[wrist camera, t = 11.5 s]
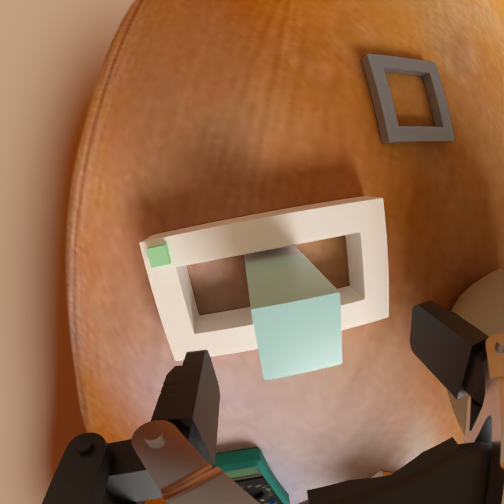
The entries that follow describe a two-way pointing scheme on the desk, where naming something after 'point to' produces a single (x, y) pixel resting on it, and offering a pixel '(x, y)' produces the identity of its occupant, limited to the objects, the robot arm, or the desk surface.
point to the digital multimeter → (252, 475)
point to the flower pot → (480, 320)
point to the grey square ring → (384, 104)
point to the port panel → (260, 239)
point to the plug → (293, 313)
